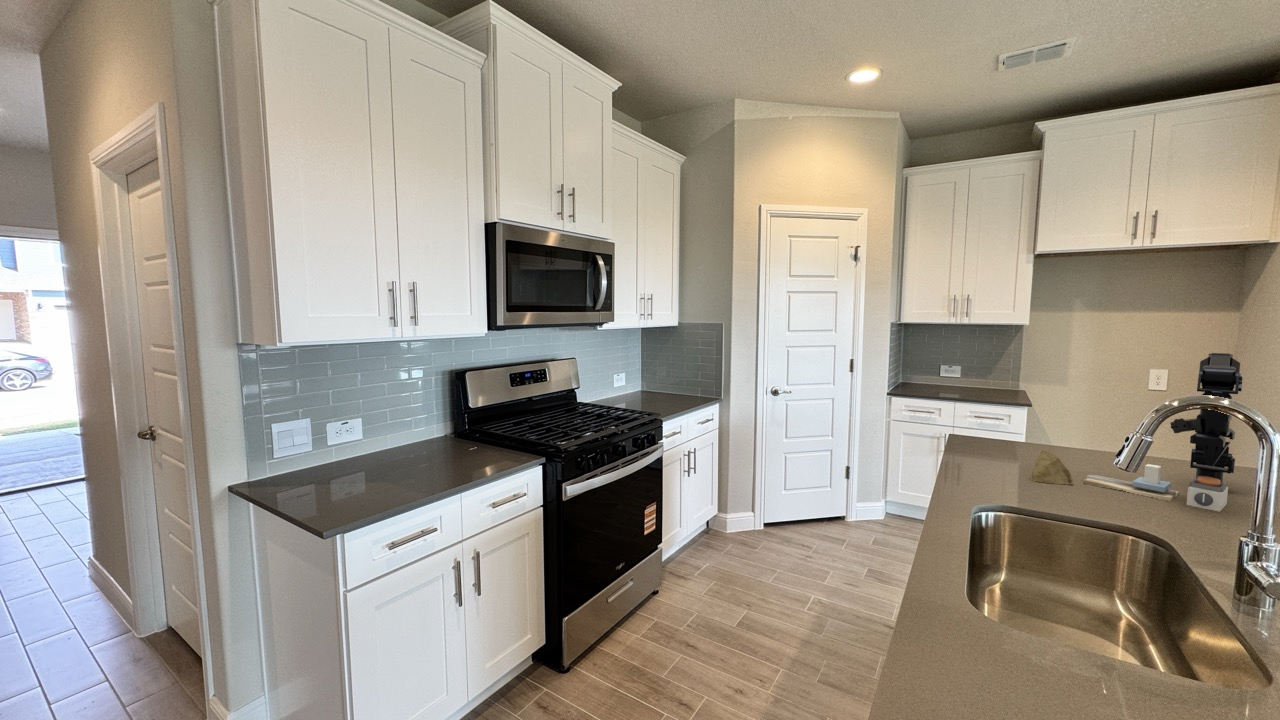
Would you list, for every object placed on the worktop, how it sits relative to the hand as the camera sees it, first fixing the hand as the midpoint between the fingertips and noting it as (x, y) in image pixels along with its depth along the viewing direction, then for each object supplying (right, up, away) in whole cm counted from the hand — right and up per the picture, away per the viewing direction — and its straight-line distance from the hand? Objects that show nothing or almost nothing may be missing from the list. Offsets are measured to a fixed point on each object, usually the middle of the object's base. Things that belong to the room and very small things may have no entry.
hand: (1210, 465), depth 147 cm
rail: (-9, -10, +15) cm, 20 cm away
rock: (-28, -10, +21) cm, 37 cm away
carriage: (-7, -8, +10) cm, 15 cm away
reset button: (0, -5, 0) cm, 5 cm away
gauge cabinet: (0, -11, +1) cm, 11 cm away
